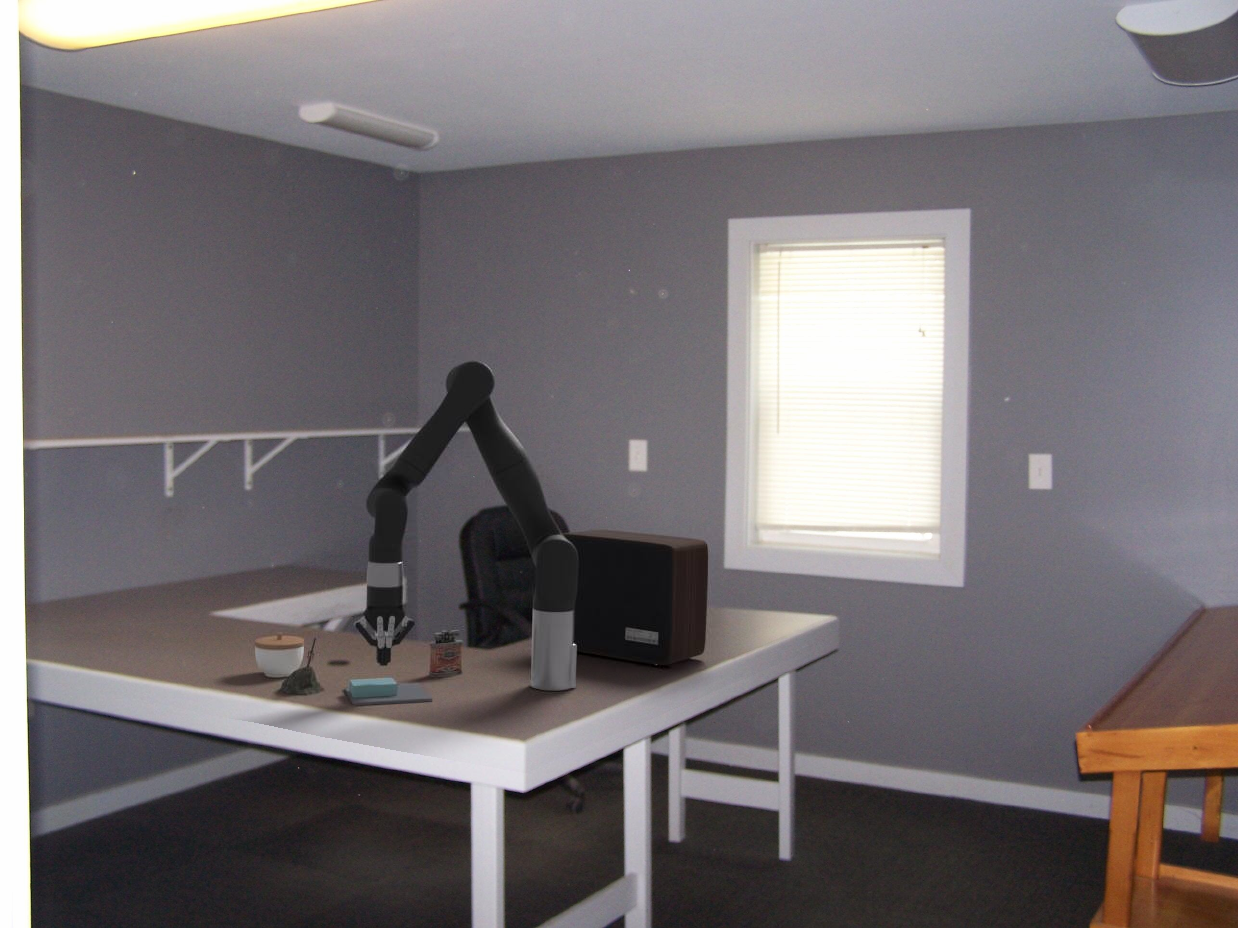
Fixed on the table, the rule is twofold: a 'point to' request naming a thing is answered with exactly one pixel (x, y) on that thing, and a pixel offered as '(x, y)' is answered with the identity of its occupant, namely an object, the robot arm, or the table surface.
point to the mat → (404, 695)
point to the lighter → (446, 654)
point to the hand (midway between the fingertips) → (383, 664)
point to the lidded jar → (279, 654)
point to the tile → (373, 687)
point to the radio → (640, 595)
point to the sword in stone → (302, 680)
